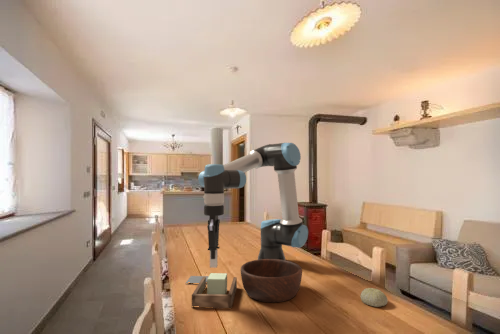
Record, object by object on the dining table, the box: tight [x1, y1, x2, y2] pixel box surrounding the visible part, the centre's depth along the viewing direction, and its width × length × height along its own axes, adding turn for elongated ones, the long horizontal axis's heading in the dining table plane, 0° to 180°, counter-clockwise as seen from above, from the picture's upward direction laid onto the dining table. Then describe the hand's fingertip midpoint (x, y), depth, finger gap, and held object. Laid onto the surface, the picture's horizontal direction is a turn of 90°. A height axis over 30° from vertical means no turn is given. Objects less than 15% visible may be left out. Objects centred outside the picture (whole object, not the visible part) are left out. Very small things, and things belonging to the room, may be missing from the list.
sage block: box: [206, 272, 228, 294], centre depth 117 cm, size 7×7×7 cm
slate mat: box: [185, 275, 209, 284], centre depth 131 cm, size 9×9×1 cm
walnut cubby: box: [191, 276, 238, 309], centre depth 113 cm, size 14×19×4 cm
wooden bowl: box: [240, 259, 303, 303], centre depth 118 cm, size 25×25×10 cm
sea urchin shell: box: [359, 287, 389, 308], centre depth 108 cm, size 9×8×8 cm
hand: (213, 266), depth 110 cm, fingers closed
